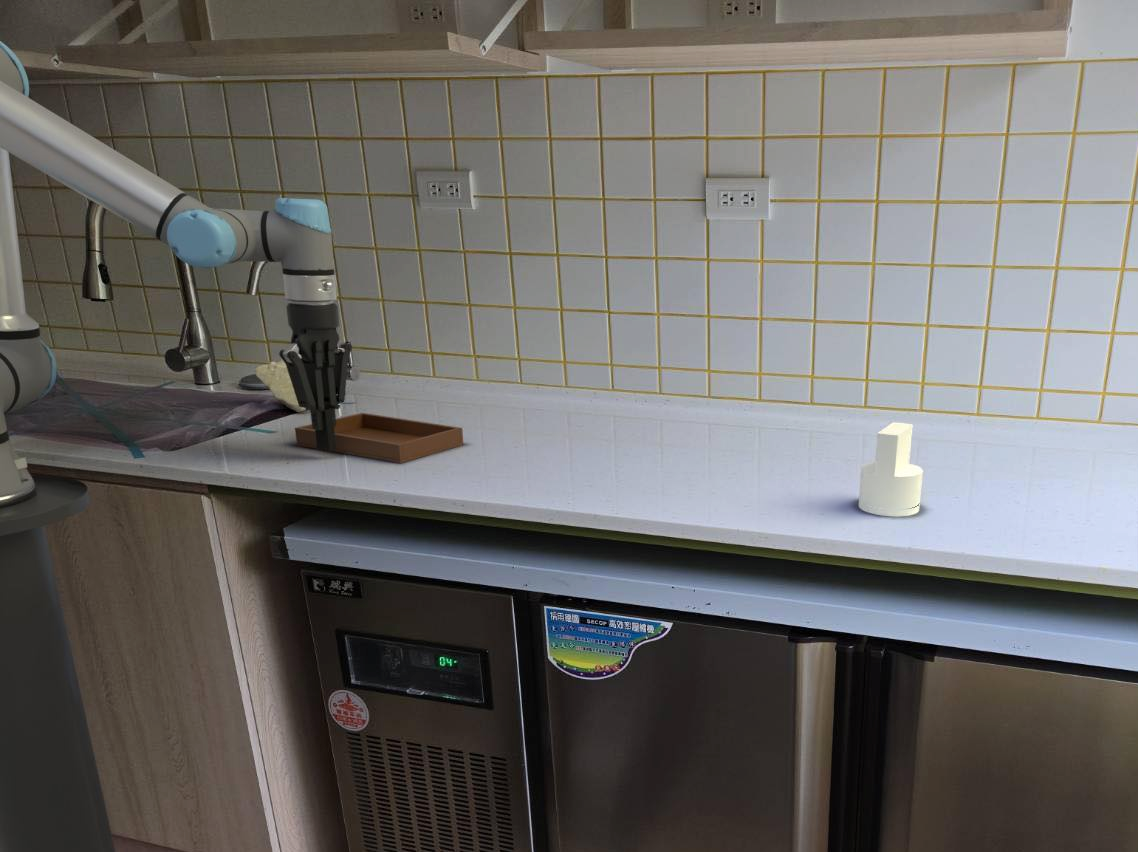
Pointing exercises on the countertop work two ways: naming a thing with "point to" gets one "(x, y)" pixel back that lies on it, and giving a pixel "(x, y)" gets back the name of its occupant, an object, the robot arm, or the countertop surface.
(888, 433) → the cylinder with rectangular tab
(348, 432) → the tray
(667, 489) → the countertop surface
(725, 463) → the countertop surface
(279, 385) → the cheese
